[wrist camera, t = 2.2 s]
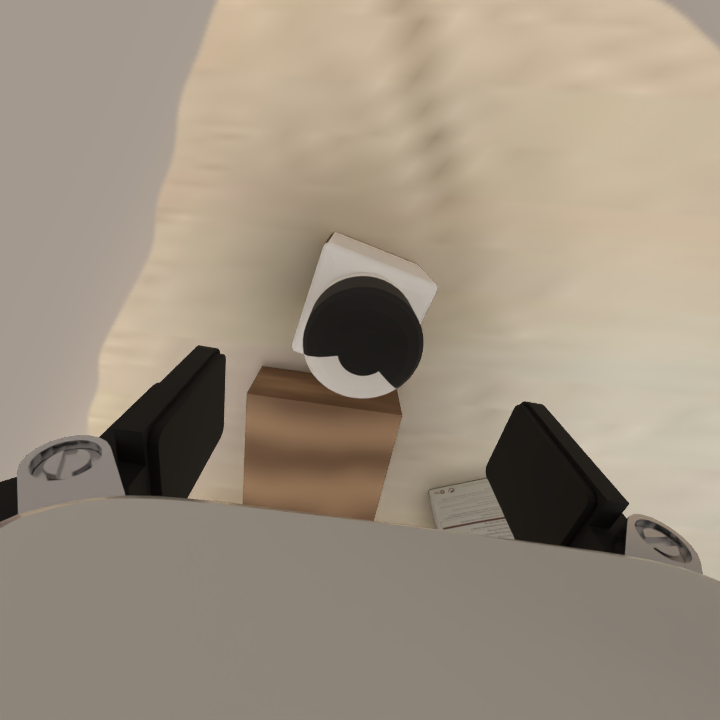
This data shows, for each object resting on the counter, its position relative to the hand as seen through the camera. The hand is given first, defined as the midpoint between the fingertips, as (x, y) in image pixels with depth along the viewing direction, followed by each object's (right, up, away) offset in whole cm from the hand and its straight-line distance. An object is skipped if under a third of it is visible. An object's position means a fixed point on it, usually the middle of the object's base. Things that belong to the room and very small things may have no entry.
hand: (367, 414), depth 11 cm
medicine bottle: (0, +7, +17) cm, 18 cm away
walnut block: (-4, -5, +22) cm, 23 cm away
